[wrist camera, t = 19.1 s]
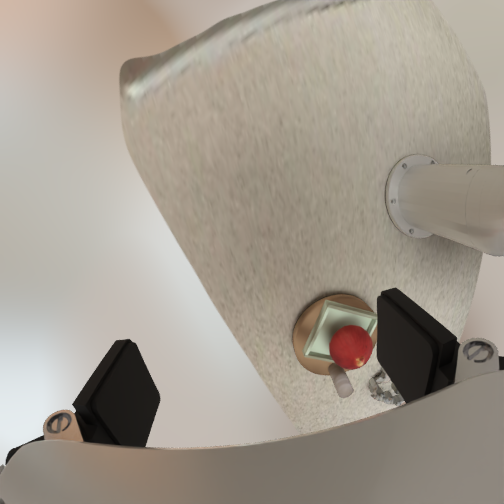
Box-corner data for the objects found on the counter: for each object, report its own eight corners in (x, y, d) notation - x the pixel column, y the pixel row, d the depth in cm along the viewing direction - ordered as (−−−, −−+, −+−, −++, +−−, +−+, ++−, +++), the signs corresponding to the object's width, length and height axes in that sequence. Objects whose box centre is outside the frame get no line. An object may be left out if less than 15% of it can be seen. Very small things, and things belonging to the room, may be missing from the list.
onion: (366, 336, 38) (388, 367, 30) (333, 356, 39) (349, 391, 31) (352, 307, 37) (375, 336, 29) (316, 329, 37) (331, 363, 29)
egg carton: (361, 383, 45) (369, 397, 41) (391, 355, 44) (400, 367, 40) (391, 400, 47) (398, 413, 43) (417, 375, 46) (426, 387, 42)
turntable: (312, 283, 38) (328, 309, 30) (387, 305, 39) (412, 329, 32) (279, 359, 41) (286, 393, 33) (351, 372, 42) (366, 403, 35)
